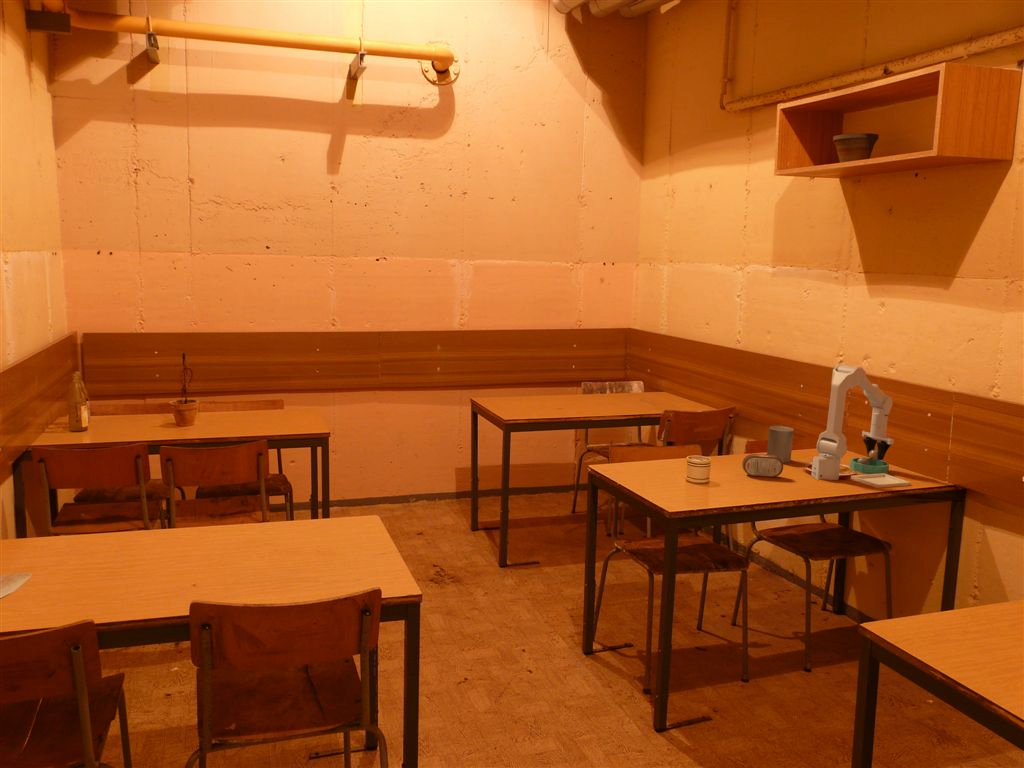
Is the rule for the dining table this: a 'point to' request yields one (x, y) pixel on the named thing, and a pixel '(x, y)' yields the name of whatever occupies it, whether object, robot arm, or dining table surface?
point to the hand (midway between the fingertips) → (875, 458)
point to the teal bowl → (870, 466)
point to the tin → (762, 465)
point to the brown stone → (873, 455)
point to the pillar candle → (780, 442)
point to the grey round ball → (863, 461)
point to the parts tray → (880, 480)
